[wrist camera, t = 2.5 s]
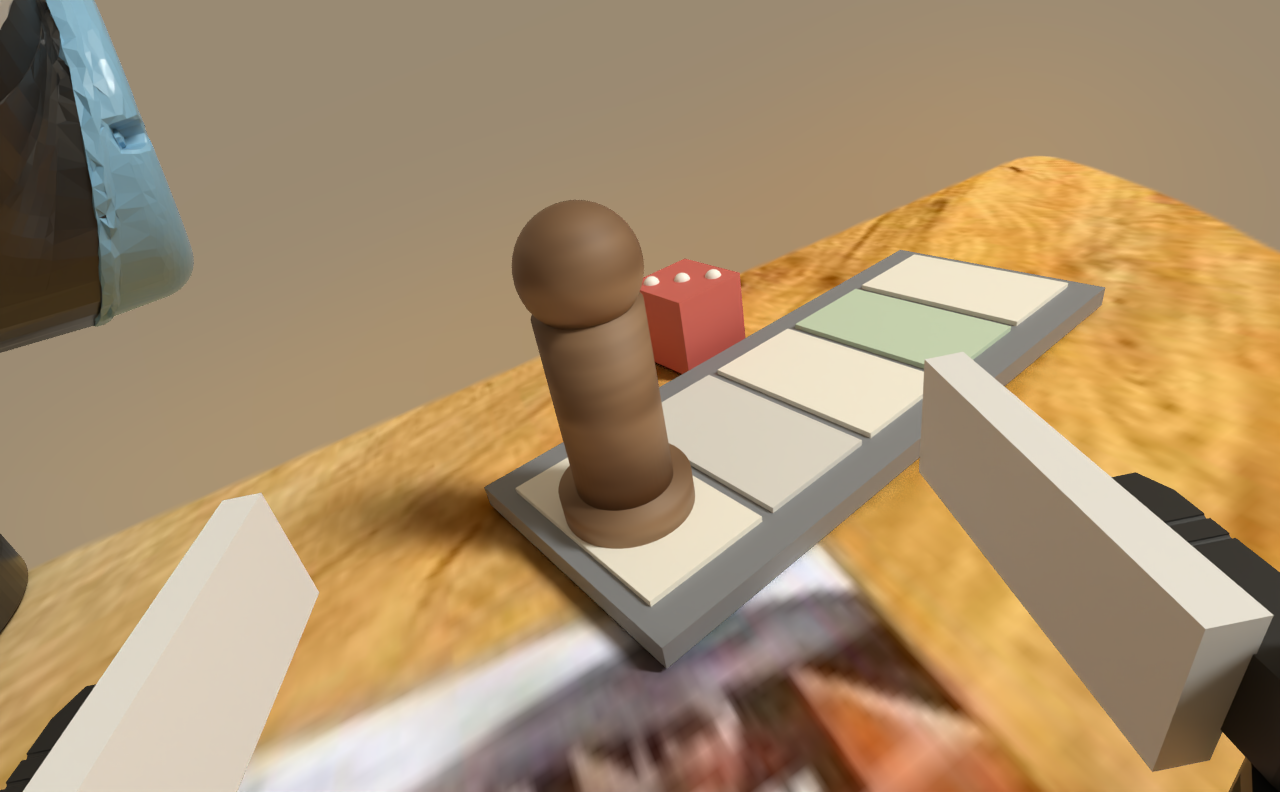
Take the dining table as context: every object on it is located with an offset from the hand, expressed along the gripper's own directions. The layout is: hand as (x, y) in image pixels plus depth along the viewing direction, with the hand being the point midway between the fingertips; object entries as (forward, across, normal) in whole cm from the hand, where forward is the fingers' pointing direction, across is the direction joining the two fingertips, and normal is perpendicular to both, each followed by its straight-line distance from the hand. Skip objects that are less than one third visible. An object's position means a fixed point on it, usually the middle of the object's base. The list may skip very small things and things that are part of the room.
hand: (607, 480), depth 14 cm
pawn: (+10, 0, -9) cm, 13 cm away
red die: (+24, +5, -10) cm, 26 cm away
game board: (+17, +10, -10) cm, 22 cm away
